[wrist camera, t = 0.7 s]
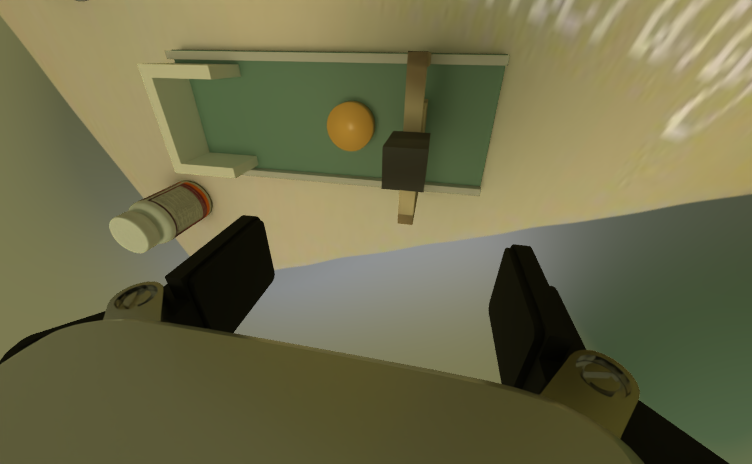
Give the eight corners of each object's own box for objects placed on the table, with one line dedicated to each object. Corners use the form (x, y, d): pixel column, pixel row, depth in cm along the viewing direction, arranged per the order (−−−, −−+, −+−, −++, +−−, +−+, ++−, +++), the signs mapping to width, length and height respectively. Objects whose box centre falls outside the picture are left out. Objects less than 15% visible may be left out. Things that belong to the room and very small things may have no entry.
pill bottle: (183, 213, 47) (117, 253, 37) (171, 177, 44) (95, 210, 34) (217, 218, 46) (159, 260, 37) (207, 181, 43) (140, 217, 33)
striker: (408, 52, 28) (384, 49, 17) (440, 53, 28) (438, 49, 16) (400, 188, 35) (380, 251, 24) (425, 190, 35) (416, 256, 23)
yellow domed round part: (330, 100, 32) (324, 102, 30) (375, 101, 31) (371, 103, 30) (334, 145, 35) (328, 150, 33) (375, 147, 34) (372, 152, 32)
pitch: (181, 49, 34) (131, 48, 29) (505, 54, 28) (519, 53, 23) (214, 166, 41) (179, 183, 36) (477, 188, 36) (483, 212, 30)
